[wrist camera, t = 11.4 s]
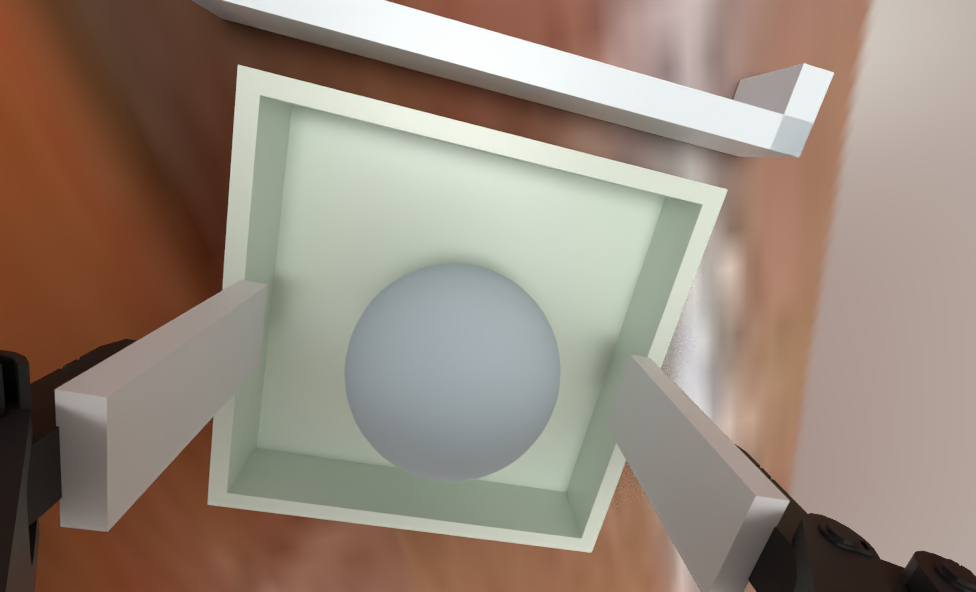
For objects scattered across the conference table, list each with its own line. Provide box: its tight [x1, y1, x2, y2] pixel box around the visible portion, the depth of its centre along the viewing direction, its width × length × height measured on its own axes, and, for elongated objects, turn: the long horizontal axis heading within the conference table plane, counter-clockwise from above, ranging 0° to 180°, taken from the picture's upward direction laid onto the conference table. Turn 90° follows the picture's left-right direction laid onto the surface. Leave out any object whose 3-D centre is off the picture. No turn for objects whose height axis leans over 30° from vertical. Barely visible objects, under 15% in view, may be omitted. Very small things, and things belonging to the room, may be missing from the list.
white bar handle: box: [191, 0, 834, 157], centre depth 13 cm, size 18×2×3 cm, turn 77°
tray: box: [207, 65, 728, 553], centre depth 16 cm, size 14×14×3 cm
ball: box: [345, 264, 561, 482], centre depth 14 cm, size 6×6×6 cm
